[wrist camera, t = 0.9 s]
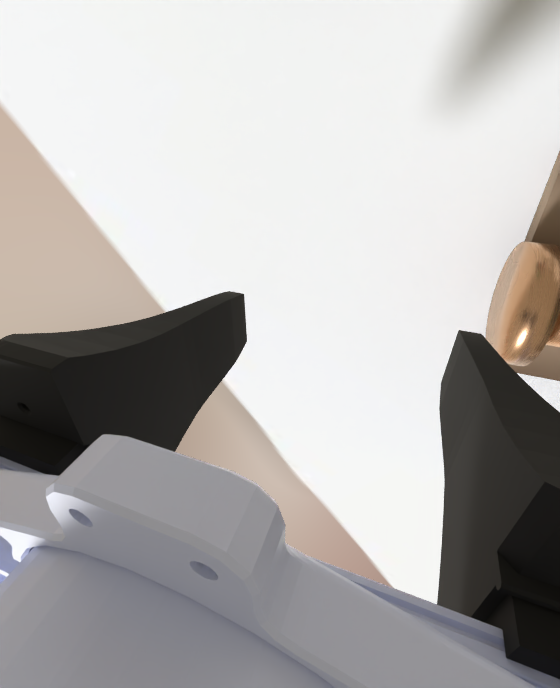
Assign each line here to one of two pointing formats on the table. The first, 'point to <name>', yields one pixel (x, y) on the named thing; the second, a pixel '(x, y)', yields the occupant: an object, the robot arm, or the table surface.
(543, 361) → the base board
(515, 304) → the tan flared rod
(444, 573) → the robot arm
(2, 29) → the table surface
